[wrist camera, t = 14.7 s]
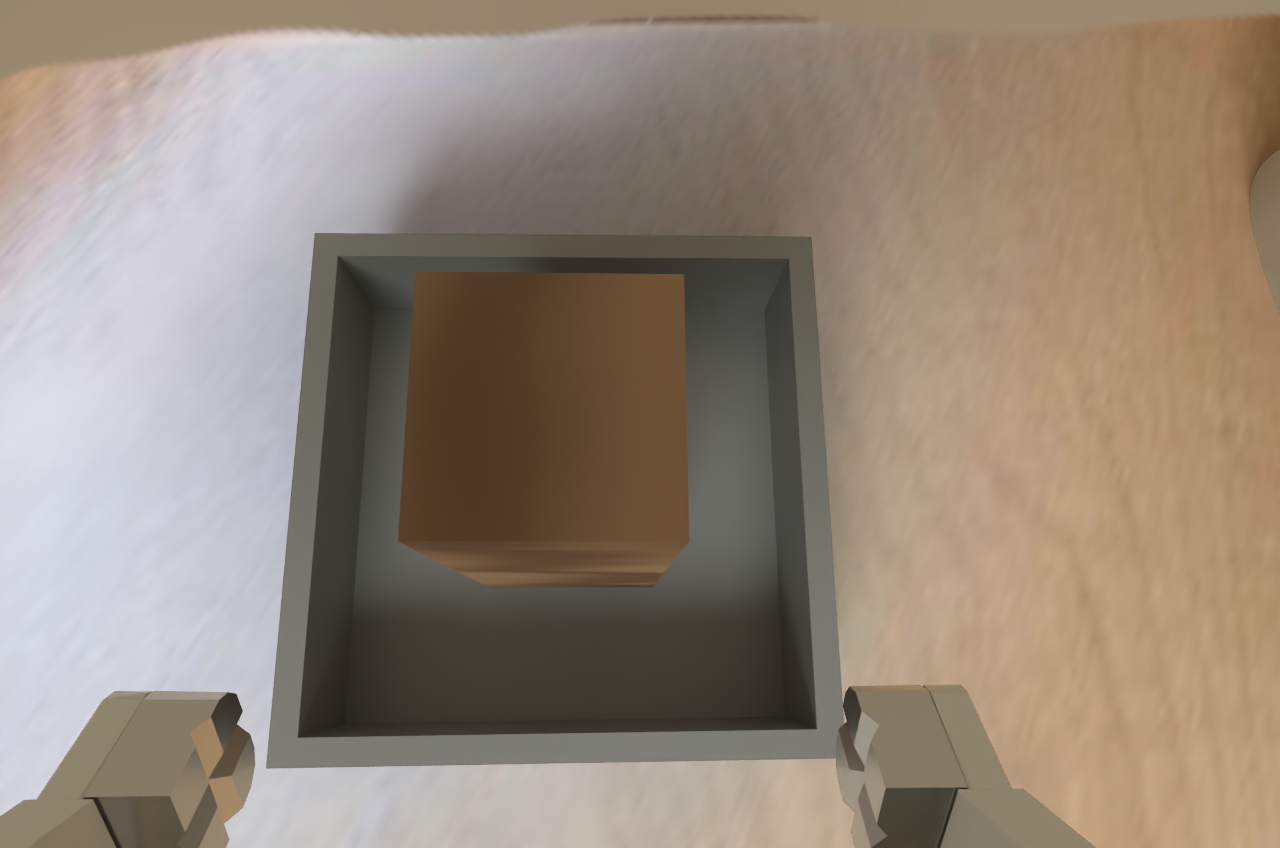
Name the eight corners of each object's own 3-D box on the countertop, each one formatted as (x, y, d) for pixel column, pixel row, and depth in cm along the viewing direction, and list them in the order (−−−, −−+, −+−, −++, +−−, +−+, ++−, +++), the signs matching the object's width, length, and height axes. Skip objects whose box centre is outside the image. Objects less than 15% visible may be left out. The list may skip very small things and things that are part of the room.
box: (778, 302, 30) (811, 236, 25) (802, 737, 26) (846, 757, 22) (362, 300, 29) (314, 233, 25) (329, 745, 26) (266, 768, 21)
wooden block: (651, 429, 28) (683, 274, 16) (652, 586, 26) (689, 541, 15) (495, 429, 28) (415, 271, 16) (489, 587, 26) (397, 541, 15)
